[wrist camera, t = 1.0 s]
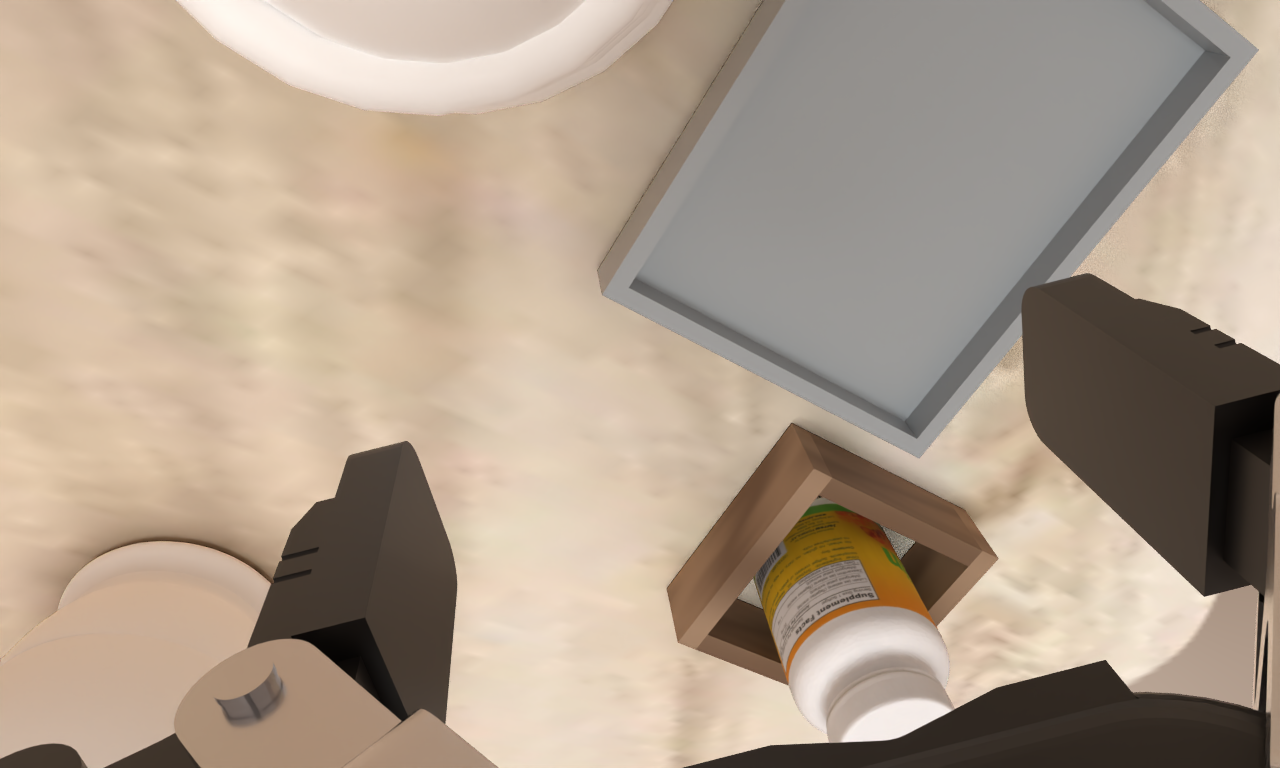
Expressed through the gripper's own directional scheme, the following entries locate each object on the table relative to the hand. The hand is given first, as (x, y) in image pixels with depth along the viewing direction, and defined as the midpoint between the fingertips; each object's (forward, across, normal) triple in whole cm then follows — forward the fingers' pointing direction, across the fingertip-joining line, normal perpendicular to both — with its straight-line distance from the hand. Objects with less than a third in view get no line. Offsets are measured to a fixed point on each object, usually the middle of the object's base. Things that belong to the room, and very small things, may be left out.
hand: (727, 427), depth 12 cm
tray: (+19, -9, +3) cm, 21 cm away
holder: (+20, -5, +18) cm, 27 cm away
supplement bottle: (+20, -5, +18) cm, 27 cm away
